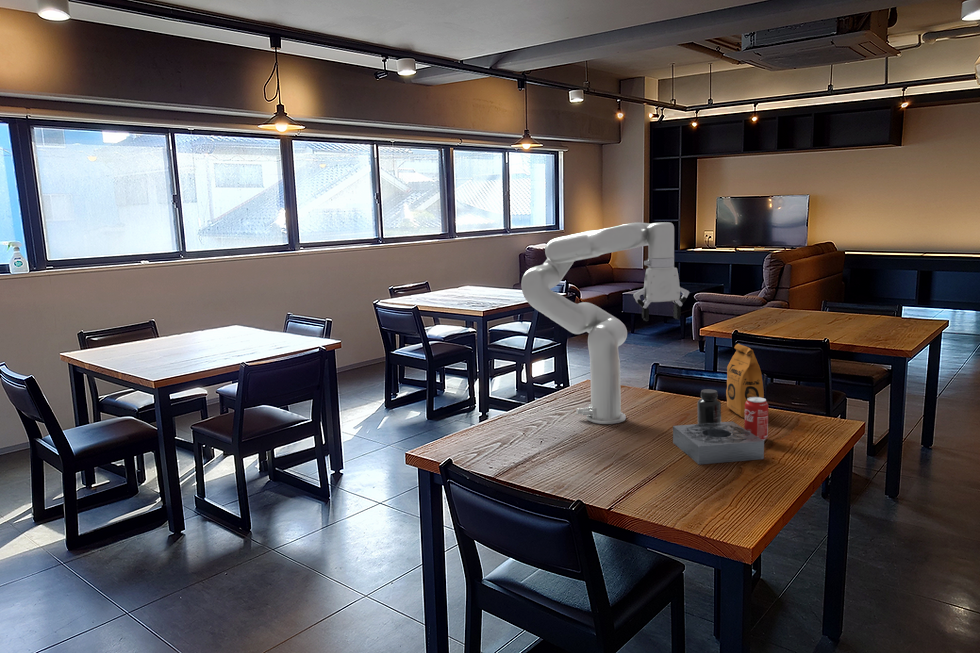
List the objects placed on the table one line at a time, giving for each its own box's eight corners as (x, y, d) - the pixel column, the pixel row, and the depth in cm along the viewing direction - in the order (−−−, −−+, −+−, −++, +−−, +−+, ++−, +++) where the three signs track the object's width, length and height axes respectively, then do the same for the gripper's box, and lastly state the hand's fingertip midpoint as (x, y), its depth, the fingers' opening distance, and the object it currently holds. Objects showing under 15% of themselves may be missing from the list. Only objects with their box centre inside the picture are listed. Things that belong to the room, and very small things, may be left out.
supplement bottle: (718, 425, 211) (718, 387, 209) (723, 432, 204) (723, 393, 202) (695, 425, 212) (695, 388, 210) (699, 432, 205) (700, 394, 203)
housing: (698, 464, 180) (698, 446, 179) (672, 442, 198) (672, 425, 197) (763, 459, 182) (764, 441, 181) (732, 437, 200) (732, 421, 199)
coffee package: (736, 419, 217) (737, 351, 213) (723, 408, 229) (723, 343, 225) (767, 418, 217) (769, 349, 213) (752, 407, 229) (754, 342, 225)
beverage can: (747, 434, 202) (748, 395, 200) (770, 438, 198) (771, 397, 196) (741, 440, 197) (742, 400, 195) (764, 444, 193) (765, 403, 191)
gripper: (637, 266, 202) (638, 323, 205) (693, 263, 204) (693, 319, 206) (629, 264, 209) (630, 319, 212) (683, 261, 211) (683, 316, 214)
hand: (661, 319), depth 209 cm, fingers open, 9 cm apart
